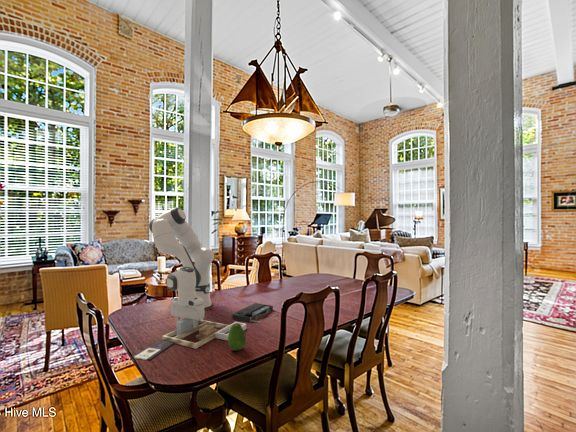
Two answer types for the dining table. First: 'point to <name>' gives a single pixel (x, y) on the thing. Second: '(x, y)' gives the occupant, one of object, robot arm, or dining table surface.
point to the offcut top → (206, 330)
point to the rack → (190, 344)
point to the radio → (252, 312)
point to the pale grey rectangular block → (184, 325)
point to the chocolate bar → (153, 350)
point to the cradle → (221, 333)
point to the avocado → (236, 337)
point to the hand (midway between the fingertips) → (186, 326)
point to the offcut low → (200, 337)
